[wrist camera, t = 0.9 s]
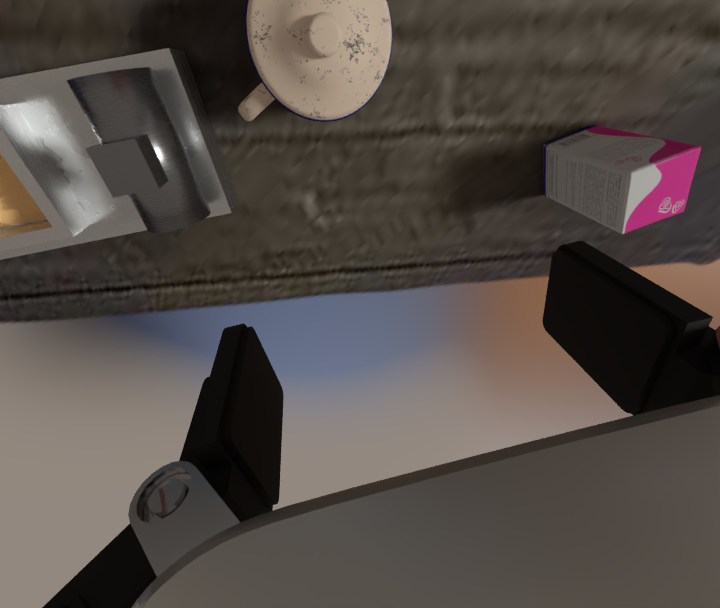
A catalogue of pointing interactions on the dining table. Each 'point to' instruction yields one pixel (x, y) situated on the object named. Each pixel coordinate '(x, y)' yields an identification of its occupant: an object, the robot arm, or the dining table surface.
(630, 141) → the supplement box
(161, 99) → the white desk organizer
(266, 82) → the teacup with lid
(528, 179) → the dining table surface
